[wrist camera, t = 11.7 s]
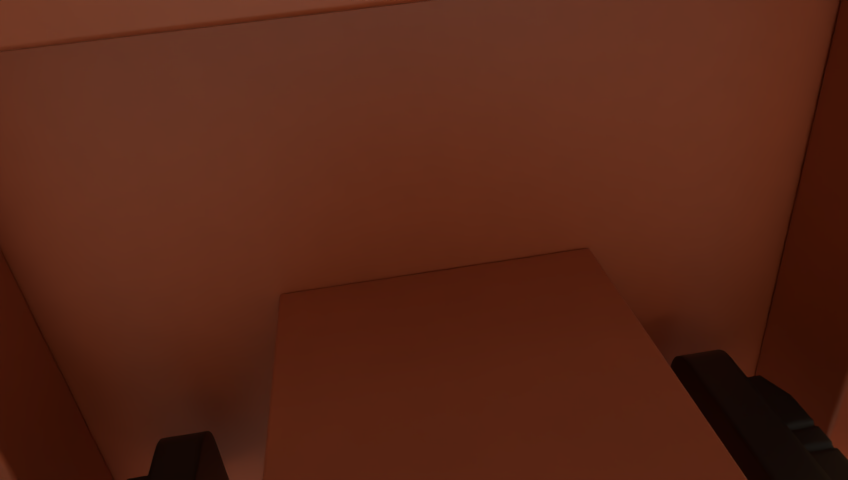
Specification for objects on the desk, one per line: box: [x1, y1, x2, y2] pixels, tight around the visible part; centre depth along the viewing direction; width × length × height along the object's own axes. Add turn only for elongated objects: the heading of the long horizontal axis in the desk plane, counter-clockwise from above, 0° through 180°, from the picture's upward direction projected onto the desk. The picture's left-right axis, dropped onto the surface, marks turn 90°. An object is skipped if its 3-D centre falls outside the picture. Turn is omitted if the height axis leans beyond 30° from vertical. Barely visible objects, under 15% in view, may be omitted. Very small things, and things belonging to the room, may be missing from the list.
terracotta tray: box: [0, 0, 848, 480], centre depth 11 cm, size 13×15×3 cm
